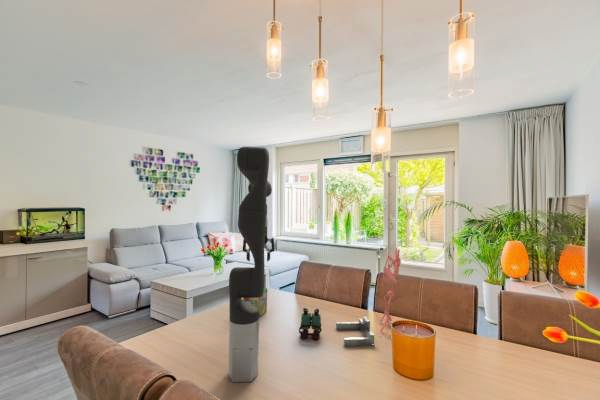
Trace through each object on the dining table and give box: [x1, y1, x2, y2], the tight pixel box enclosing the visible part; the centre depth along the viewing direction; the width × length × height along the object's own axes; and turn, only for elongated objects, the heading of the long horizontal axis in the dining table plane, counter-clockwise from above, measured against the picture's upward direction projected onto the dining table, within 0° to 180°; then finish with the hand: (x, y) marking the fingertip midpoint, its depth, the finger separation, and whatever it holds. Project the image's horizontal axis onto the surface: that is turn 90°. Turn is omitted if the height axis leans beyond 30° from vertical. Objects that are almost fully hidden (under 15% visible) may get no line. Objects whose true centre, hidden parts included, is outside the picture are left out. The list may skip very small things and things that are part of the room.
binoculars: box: [298, 307, 323, 341], centre depth 120 cm, size 9×11×10 cm
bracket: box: [335, 315, 375, 347], centre depth 121 cm, size 16×12×7 cm
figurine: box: [379, 247, 402, 338], centre depth 129 cm, size 15×26×35 cm, turn 167°
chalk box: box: [242, 287, 268, 318], centre depth 144 cm, size 9×9×15 cm
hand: (258, 261), depth 135 cm, fingers open, 8 cm apart
